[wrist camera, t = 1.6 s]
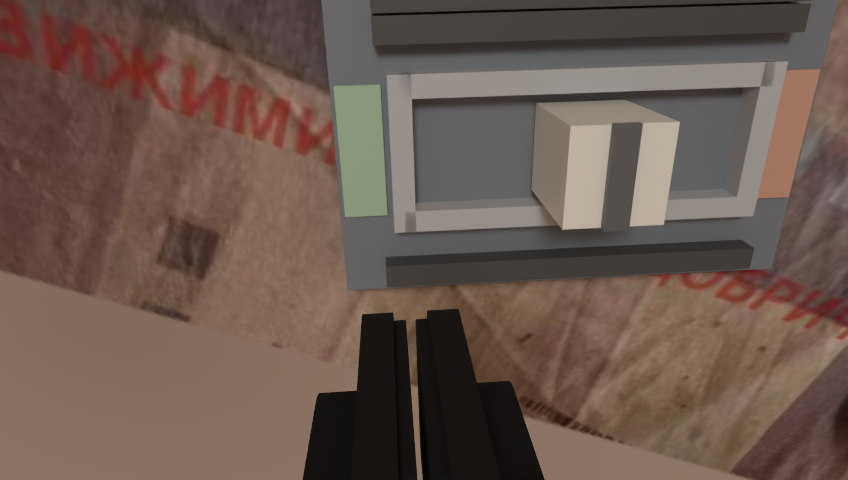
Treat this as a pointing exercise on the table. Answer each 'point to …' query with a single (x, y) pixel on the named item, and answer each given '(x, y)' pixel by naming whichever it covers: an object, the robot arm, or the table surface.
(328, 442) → the robot arm
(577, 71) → the panel
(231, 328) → the table surface
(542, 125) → the toggle
